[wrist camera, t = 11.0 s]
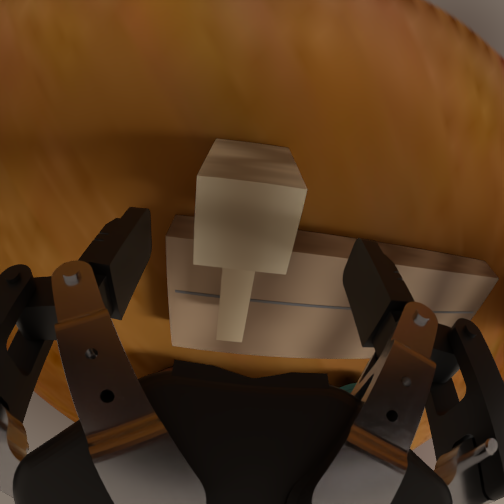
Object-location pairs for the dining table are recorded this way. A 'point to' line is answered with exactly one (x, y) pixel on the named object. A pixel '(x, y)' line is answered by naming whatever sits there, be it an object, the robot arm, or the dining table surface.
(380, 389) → the robot arm
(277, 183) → the beige cube mallet
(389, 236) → the dining table surface
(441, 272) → the board
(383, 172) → the dining table surface
